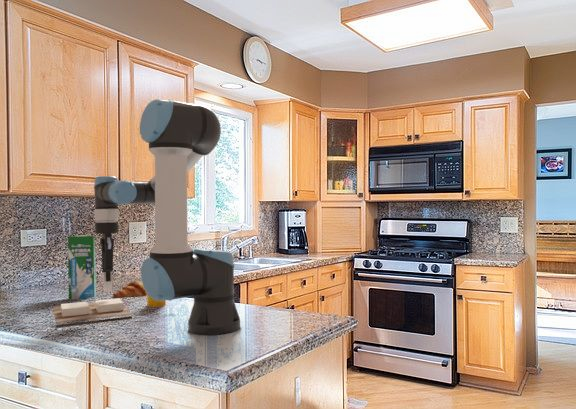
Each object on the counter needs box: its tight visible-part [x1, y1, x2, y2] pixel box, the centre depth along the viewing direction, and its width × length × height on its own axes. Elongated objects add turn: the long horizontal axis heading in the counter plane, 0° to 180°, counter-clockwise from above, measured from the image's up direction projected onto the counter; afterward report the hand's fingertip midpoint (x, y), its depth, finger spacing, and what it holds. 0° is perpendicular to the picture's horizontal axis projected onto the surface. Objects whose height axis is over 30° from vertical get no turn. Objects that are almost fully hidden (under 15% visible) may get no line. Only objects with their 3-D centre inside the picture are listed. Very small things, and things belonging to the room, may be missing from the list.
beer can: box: [146, 294, 167, 308], centre depth 167 cm, size 6×6×15 cm
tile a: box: [60, 301, 90, 317], centre depth 156 cm, size 3×8×9 cm
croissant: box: [112, 280, 147, 299], centre depth 190 cm, size 21×10×8 cm, turn 137°
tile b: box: [94, 297, 125, 313], centre depth 161 cm, size 3×8×9 cm
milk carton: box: [67, 235, 97, 301], centre depth 188 cm, size 9×9×25 cm
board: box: [52, 302, 133, 329], centre depth 160 cm, size 26×22×2 cm
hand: (107, 290), depth 164 cm, fingers closed
